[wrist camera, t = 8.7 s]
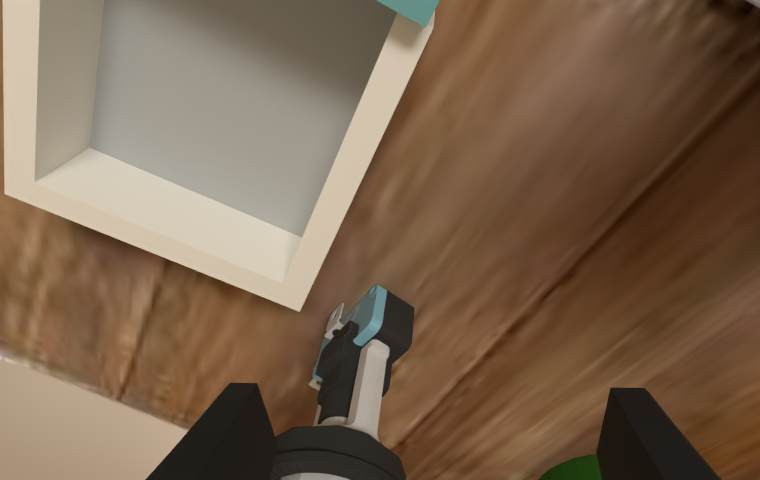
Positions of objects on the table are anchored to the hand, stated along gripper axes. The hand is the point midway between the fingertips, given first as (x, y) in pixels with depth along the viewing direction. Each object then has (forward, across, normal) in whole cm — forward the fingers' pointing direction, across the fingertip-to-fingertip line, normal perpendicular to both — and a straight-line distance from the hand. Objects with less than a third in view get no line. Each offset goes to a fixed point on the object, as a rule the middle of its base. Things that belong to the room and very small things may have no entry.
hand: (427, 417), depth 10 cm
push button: (+11, +4, +7) cm, 14 cm away
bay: (+10, +7, -5) cm, 13 cm away
